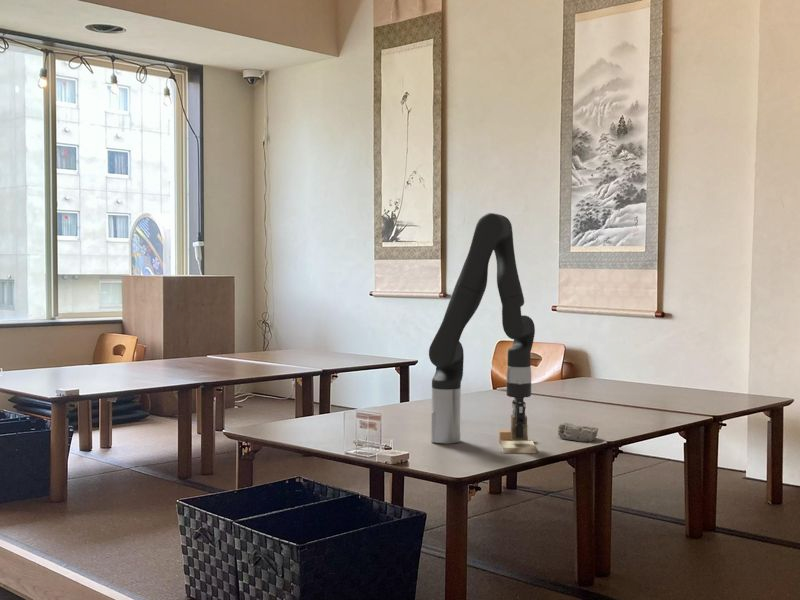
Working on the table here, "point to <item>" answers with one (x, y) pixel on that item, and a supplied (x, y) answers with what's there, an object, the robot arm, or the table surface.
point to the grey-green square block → (527, 436)
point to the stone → (577, 432)
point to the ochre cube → (505, 435)
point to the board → (518, 447)
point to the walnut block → (513, 428)
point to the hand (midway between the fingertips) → (518, 435)
